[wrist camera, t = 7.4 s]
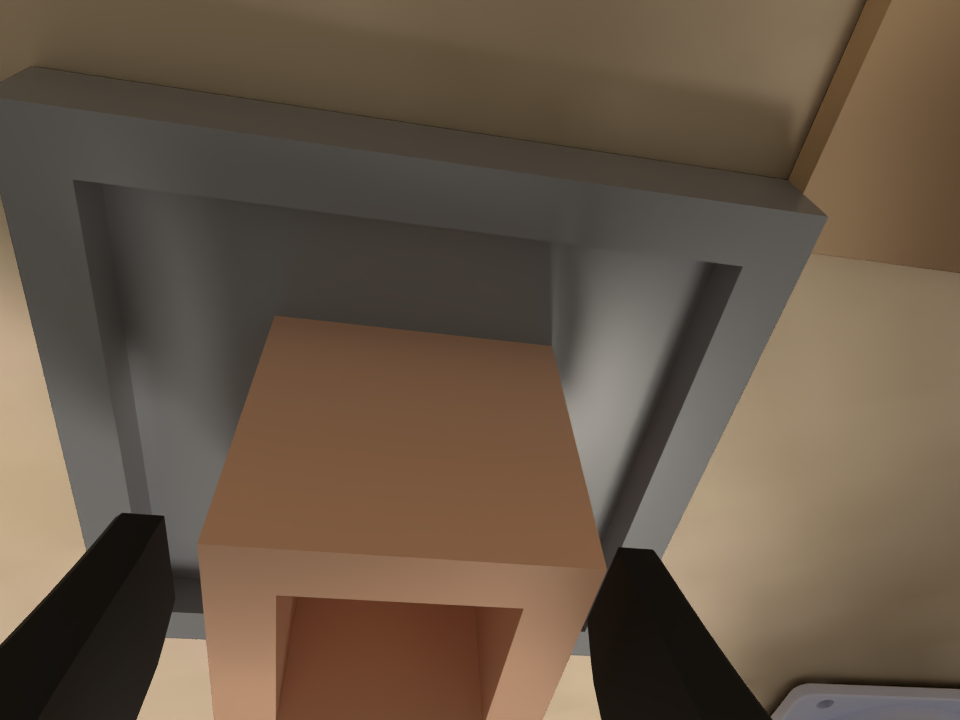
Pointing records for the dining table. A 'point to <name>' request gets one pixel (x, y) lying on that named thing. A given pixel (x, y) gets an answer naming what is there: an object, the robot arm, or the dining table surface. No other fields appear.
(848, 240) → the stand
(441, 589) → the brown cube box
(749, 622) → the dining table surface
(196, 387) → the tray
